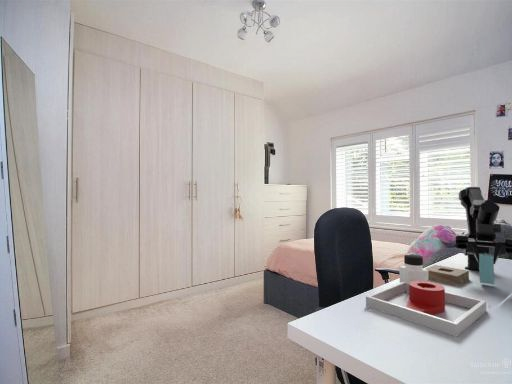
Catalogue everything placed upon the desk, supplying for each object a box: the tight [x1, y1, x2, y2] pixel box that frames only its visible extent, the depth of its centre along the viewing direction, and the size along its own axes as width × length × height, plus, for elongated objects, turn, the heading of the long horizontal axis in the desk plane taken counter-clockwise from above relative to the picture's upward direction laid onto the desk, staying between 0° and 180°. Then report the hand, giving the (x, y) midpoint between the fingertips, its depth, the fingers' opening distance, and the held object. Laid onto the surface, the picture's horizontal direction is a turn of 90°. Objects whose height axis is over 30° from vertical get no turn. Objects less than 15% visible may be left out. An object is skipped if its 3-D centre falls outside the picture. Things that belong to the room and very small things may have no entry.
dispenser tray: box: [365, 282, 487, 338], centre depth 86 cm, size 24×24×3 cm
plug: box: [478, 253, 495, 285], centre depth 106 cm, size 4×4×10 cm
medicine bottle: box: [399, 253, 430, 283], centre depth 106 cm, size 7×7×12 cm
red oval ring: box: [405, 281, 446, 316], centre depth 85 cm, size 18×9×7 cm, turn 132°
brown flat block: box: [425, 264, 470, 287], centre depth 114 cm, size 12×12×4 cm
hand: (486, 262), depth 105 cm, fingers closed on plug, 4 cm apart
